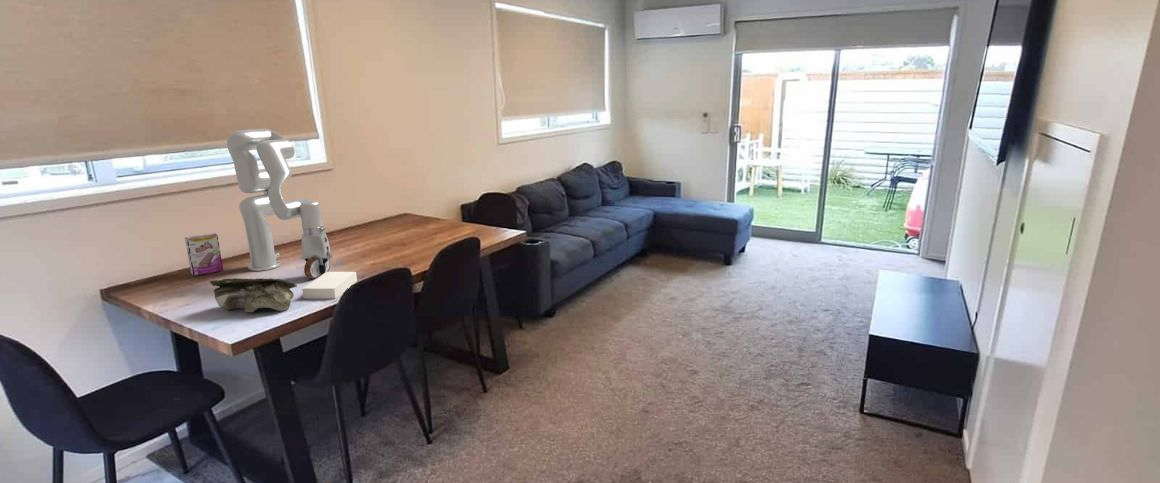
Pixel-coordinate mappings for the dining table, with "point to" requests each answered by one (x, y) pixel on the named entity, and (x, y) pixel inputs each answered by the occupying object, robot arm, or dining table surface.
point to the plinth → (329, 285)
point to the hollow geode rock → (253, 293)
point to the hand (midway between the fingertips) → (318, 272)
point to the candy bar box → (204, 254)
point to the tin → (314, 267)
